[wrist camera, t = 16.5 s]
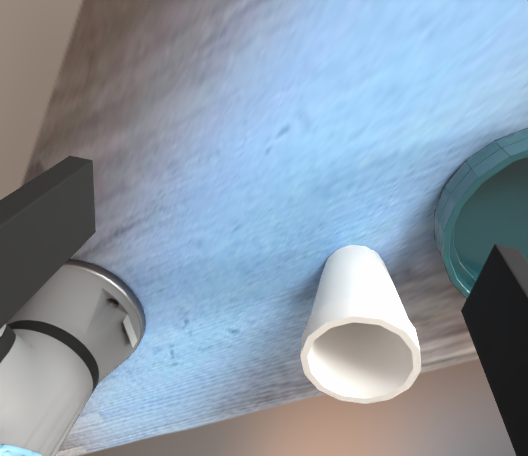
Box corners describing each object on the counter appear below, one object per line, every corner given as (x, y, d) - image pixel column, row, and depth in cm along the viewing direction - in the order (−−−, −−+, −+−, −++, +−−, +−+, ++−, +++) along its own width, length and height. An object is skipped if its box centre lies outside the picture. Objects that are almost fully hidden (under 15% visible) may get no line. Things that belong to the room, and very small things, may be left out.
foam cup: (306, 300, 49) (297, 394, 38) (312, 228, 44) (303, 310, 33) (393, 309, 48) (410, 409, 37) (408, 236, 43) (433, 324, 32)
